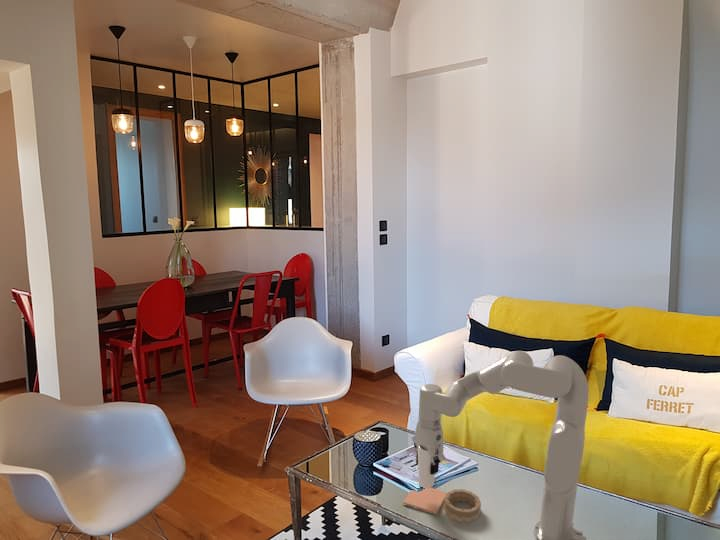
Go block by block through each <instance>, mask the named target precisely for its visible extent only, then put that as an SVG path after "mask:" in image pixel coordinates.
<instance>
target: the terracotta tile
mask: <svg viewBox="0 0 720 540" xmlns="http://www.w3.org/2000/svg"><path fill="white" fill-rule="evenodd" d="M447 493H448V492H447V491H444V490H440V489H437V488H434V487H431V488H425V489H423V490H422V491H419V492H416V491H414V490H411V489H410V491H409V492H408V493H407V495H406V497H405V499H404V500H403V503H402V504H406V505H410V506H412V507H411V508H413V507H416V508H418V509H417V510H419V509H421V510H420V511H422V510H424V512H426V513H429V512H430V514H432V513H433V514H432V515H435V514H436V515H438V513H439V512H440V509H441V507H442V506H443V505H444V498H445V496H446V494H447ZM406 505H405V506H406ZM416 508H415V509H416Z"/></svg>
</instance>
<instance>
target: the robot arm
mask: <svg viewBox="0 0 720 540" xmlns="http://www.w3.org/2000/svg"><path fill="white" fill-rule="evenodd" d="M508 388H511V389H514V390H516V391H520V392H523V393H529V394H532V395H537V396H542V397H544V398H551V399H557V401H556V403H557V404H556V411H555V416H554V420H553V421H554V422H553V424H552V426H551V430H550V434H549V439H548V445H547V451H546V458H545V459H546V460H545V464H544V471H543V477H544V486H543V492H542V493H543V494H542V501H541V511H540V521H538V522H537V523H536V524H535V525H534V528H533V533H534V536H535V538H536V539H537V540H587V536H585V535H583V533H584V531H582V530H578V529H576V528H574V522H573V521H574V512H575V506H576V505H575V504H576V498H577V491H578V484H579V483H578V482H579V477H580V472H581V468H582V467H581V465H582V460H583V456H584V455H583V454H584V448H585V439H586V437H585V436H586V435H585V433H586V432H585V431H586V429H585V427H586V422H587V421H586V420H587V415H588V406H589V394H590V393H589V384H588V380H587V377H586V375H585V373H584V371H583V369H582V368H581V367H580V365H579V364H578V363H577V362H575V360H573V359H571V358H570V357H568V356H566V355H561V354H559V355H554V356H552V357H550V359H549V360H547V362H546V363H545V365H544V367H539V366H534V361H533V358H532V357H531V356H530V354H529V353H527V352H526V351H523V350H515V351H513V352H511V353H509V354H507V355H505V356H504V357H502V358H499V360H496V361H495V362H493V363H491V364H490V365H489V364H488V366H486V367H484V368H481V370H477V371H474V372H471V373H469V374H467V375H464V376H463V377H461V378H460V379H458V380H456V381H454V382H453V383H451V384H450V385H449V386H448V388H447V389H446V391H444V392H443V389H442V388H441V386H439V385H437V384H435V383H434V384H433V383H428V384H427V383H426V384H424V385H422V386H421V387H420V389H419V401H418V421H417V423H416V427H415V434H414V435H413V436H412V437H411V440H412V442H413V446H414V448H415V453H416V456H415V463H416V465H418V446H420V448H421V449H423V450H426V451H428V453H429V456H431V460H432V463H431V468H430V474H431V475H433V474H435V475H436V474H437V473H438V472H439V467H440V463H442V462H444V460H446V455H445V454H444V432H443V431H444V430H443V427H442V415H444V416H446V417H450V418H455V417H458V416H459V415H460V414H461V412H462V411H463V409H464V408H465V406H466V404H467V402H469V401H470V400H472V399H473V398H474V397H476V396H477V397H478V395H481V394H483V393H488V394H490V395H496V394H498V393H500V392H502V391H503V390H505V389H508ZM436 452H437V453H436ZM435 456H436V459H437V460H435V459H434V457H435Z"/></svg>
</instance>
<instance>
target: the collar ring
mask: <svg viewBox="0 0 720 540" xmlns="http://www.w3.org/2000/svg"><path fill="white" fill-rule="evenodd" d="M455 502H456V503H459V502H461V503H465V504H469V505H470V506H471V507H472V508H470V509H469V508H467V509H462V508H459V507H455V506H454V505H453V503H455ZM481 506H482V503H481V499H480V498H479V496H478V495H477V494H475V493H474V492H472V491H469V490H466V489H463V488H462V489H461V488H459V489H452V490H450V491H448V492H447V494H446V496H445V498H444V502H443V510H444V511H443V512H444V514H445V515H446V516H447V517H448V518H450V519H451V520H453V521H455V522H459V523H472V522H474V521H476V520H478V519H479V517H480V514H481V508H482V507H481Z"/></svg>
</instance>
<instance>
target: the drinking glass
mask: <svg viewBox="0 0 720 540" xmlns="http://www.w3.org/2000/svg"><path fill="white" fill-rule="evenodd" d="M436 453H437V452H436ZM434 459H435V460H437V459H436V456H435V457H434ZM431 463H432V460H431V456H429V453H428V451H426V450H423V449H421V448H420V446H418V464H417V470H418V484H419V485H420V486H421V487H423V488H434V487H433V486H434V485H435V477H436V473H435V474H433V475H431V474H430V468H431Z"/></svg>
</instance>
